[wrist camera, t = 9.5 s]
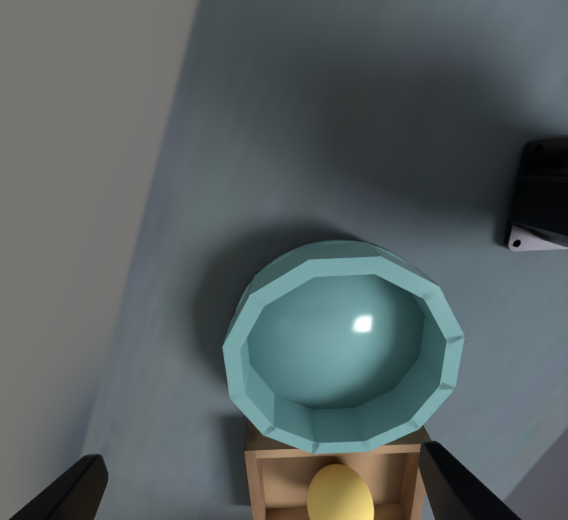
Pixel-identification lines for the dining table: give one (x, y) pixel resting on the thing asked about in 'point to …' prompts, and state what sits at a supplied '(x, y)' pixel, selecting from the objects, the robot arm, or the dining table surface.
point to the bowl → (341, 348)
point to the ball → (339, 495)
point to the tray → (303, 465)
